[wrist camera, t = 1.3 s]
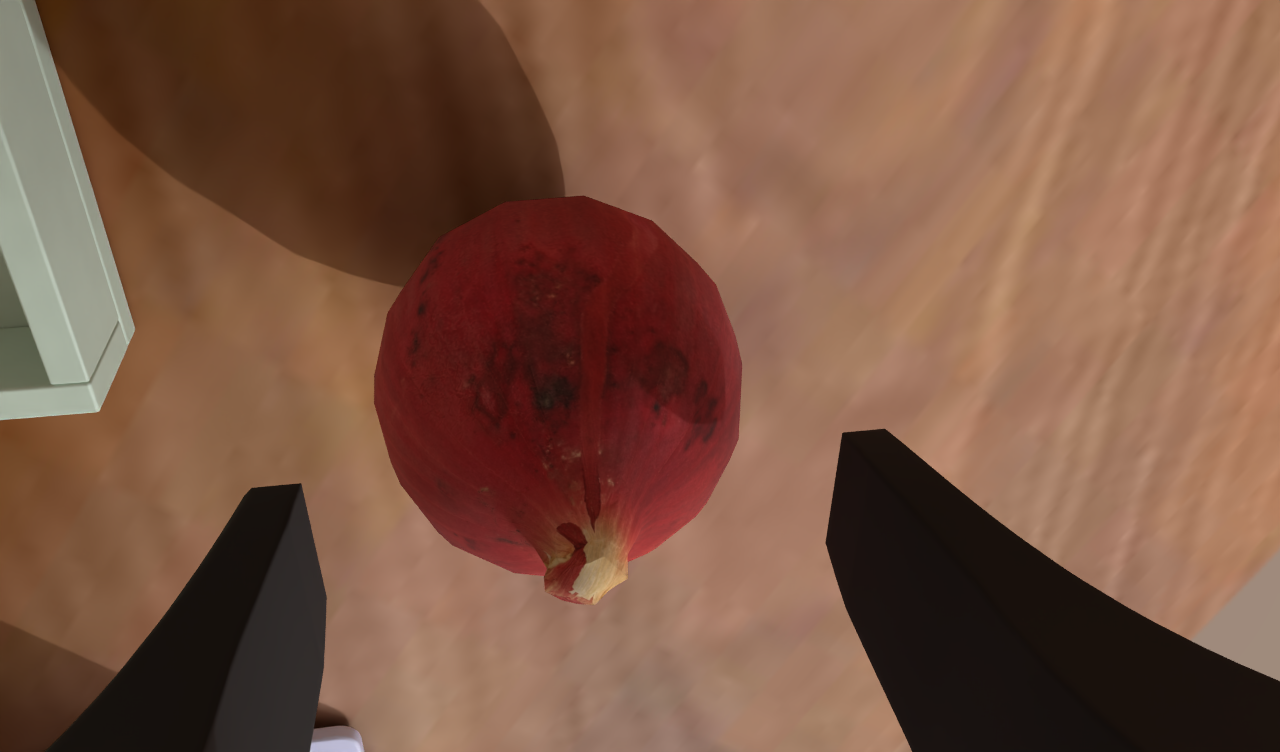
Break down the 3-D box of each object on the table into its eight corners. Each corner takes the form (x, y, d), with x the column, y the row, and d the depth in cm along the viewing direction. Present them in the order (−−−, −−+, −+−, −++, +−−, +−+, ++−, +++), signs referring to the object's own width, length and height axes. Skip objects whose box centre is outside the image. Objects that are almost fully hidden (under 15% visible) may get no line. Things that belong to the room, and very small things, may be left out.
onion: (356, 142, 18) (313, 422, 11) (688, 110, 18) (829, 356, 12) (412, 415, 21) (403, 753, 15) (691, 380, 22) (803, 687, 15)
